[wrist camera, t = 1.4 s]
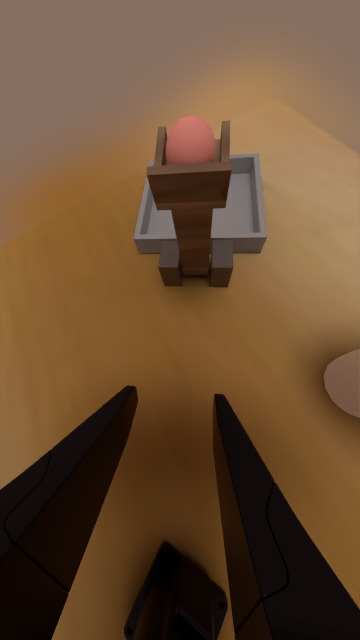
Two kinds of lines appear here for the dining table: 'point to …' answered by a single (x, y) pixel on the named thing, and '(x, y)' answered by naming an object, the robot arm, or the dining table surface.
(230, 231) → the tray
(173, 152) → the ball
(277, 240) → the dining table surface
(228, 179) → the lever
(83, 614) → the dining table surface
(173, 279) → the lever stand
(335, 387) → the foam cup
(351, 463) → the dining table surface
